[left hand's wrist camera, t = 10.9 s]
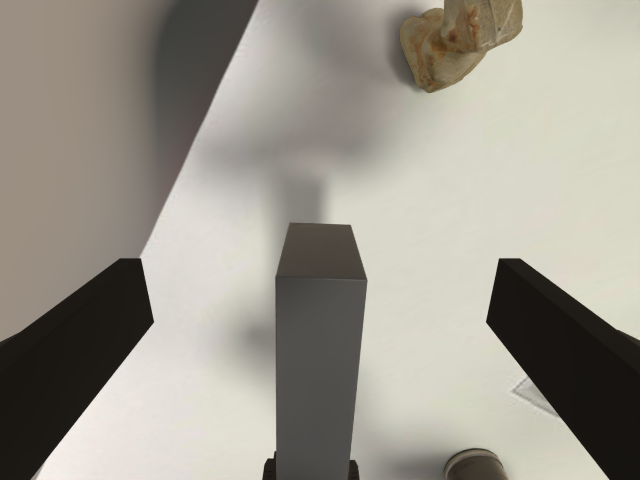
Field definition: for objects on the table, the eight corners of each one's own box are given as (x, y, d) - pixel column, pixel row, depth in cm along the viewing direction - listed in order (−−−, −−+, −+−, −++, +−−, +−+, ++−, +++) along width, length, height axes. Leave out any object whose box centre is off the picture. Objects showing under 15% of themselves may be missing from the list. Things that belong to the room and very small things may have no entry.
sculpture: (445, 5, 34) (539, -72, 20) (459, 81, 36) (551, 61, 22) (388, 27, 34) (439, -32, 20) (405, 100, 37) (462, 93, 23)
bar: (289, 222, 26) (275, 276, 17) (351, 224, 26) (367, 279, 18) (287, 442, 34) (276, 555, 25) (334, 443, 34) (340, 556, 26)
